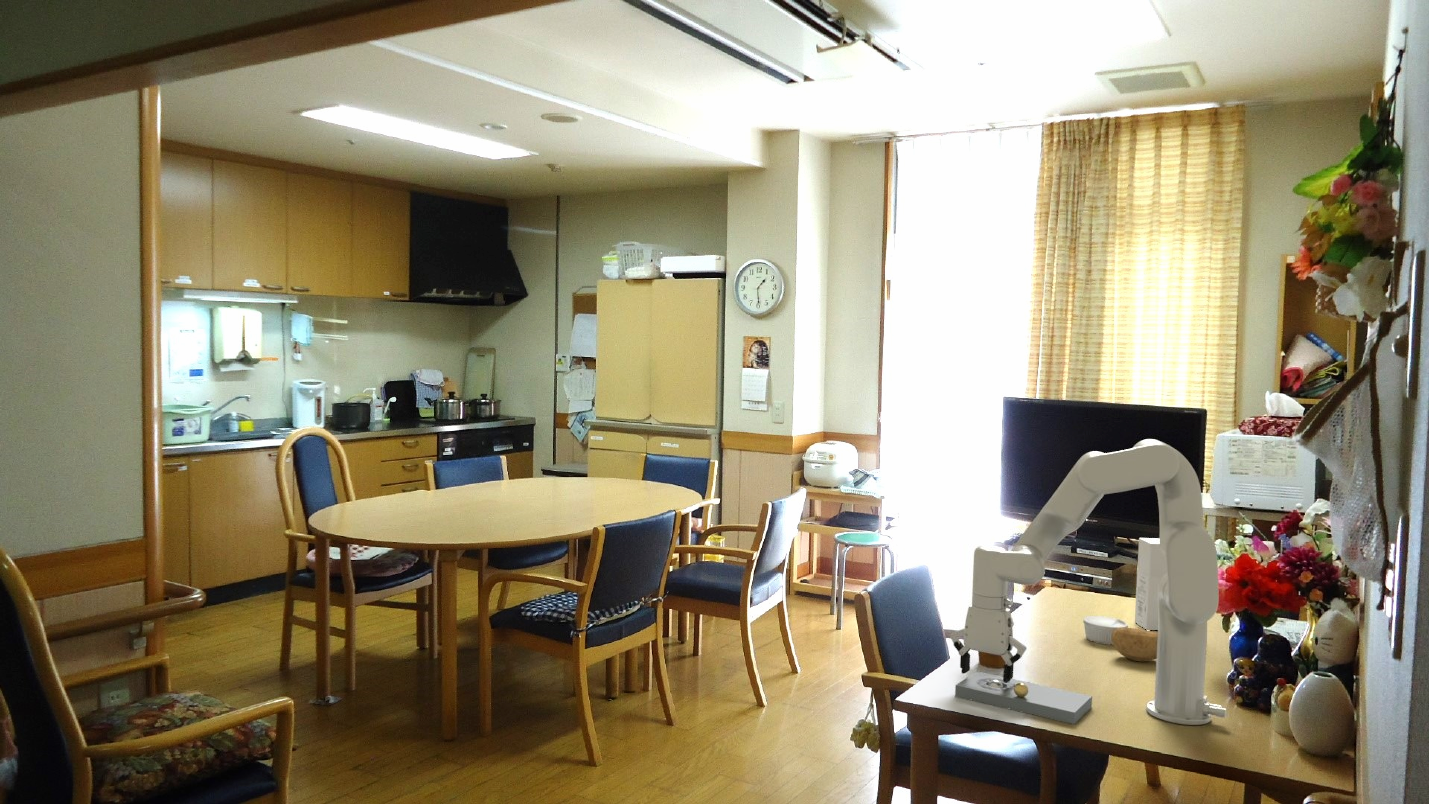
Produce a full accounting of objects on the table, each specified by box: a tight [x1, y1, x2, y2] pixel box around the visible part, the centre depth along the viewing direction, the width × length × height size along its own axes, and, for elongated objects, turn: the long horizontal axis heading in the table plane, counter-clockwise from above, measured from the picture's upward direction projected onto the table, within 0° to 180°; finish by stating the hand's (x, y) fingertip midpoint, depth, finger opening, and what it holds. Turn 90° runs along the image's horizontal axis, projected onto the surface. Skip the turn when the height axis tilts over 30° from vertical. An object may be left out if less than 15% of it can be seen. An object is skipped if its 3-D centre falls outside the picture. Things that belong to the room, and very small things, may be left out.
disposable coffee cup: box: [977, 616, 1015, 669], centre depth 245 cm, size 10×10×12 cm
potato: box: [1111, 626, 1158, 662], centre depth 253 cm, size 10×14×8 cm
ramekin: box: [1082, 615, 1129, 645], centre depth 270 cm, size 11×11×5 cm
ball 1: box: [988, 680, 1003, 688], centre depth 223 cm, size 4×4×4 cm
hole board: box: [954, 671, 1093, 725], centre depth 219 cm, size 26×13×2 cm, turn 54°
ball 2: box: [1014, 683, 1028, 697], centre depth 215 cm, size 3×3×3 cm
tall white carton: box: [1134, 537, 1167, 630], centre depth 284 cm, size 9×9×25 cm
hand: (986, 676), depth 224 cm, fingers open, 9 cm apart
